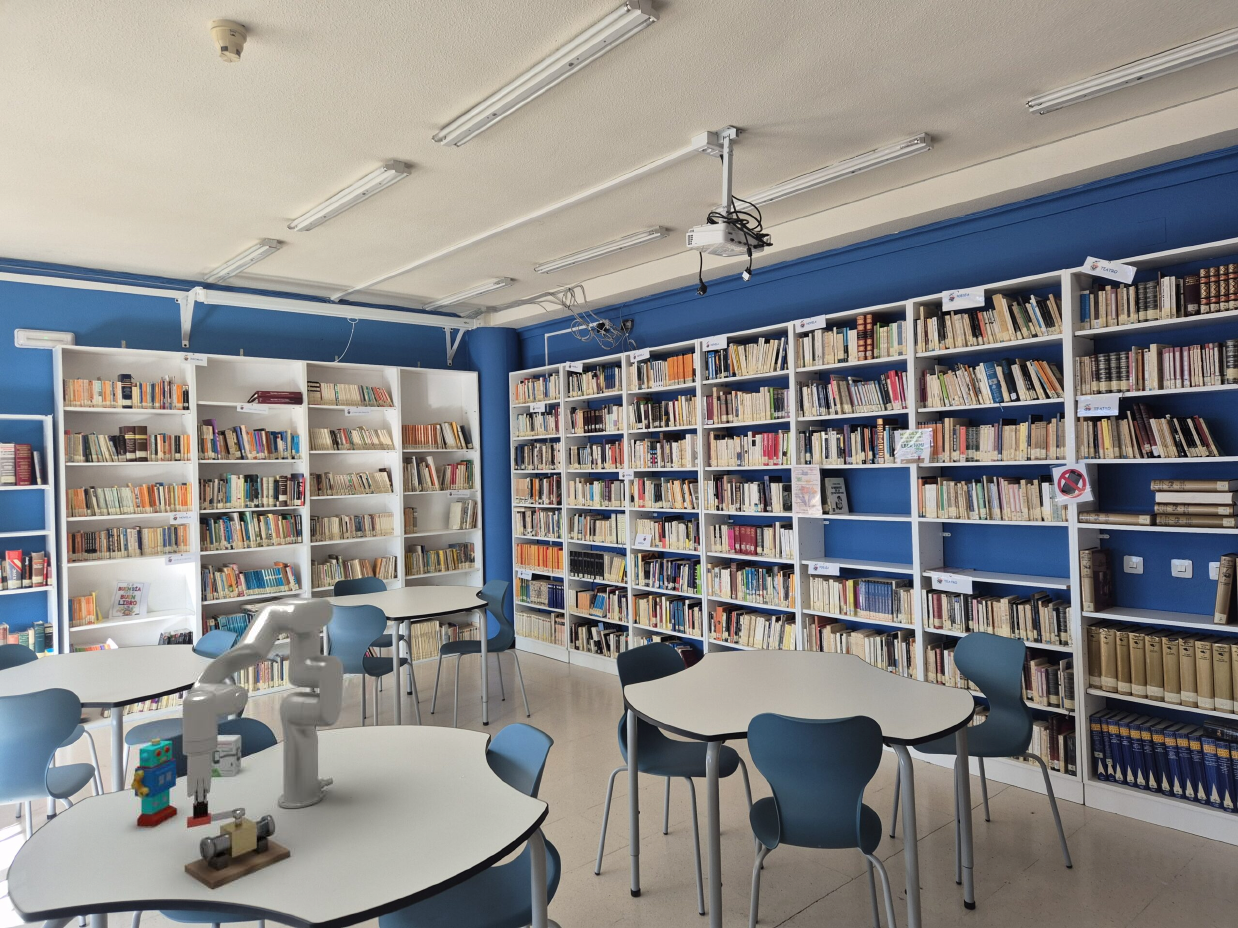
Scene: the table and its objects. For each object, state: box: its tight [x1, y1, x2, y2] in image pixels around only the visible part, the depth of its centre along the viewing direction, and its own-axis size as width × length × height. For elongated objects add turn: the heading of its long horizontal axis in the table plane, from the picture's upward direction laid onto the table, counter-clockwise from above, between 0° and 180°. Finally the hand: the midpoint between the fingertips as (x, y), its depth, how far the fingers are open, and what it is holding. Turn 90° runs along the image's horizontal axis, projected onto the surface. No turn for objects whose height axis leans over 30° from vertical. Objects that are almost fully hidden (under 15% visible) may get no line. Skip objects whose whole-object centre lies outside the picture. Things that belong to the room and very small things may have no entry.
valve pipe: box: [199, 814, 276, 871], centre depth 186 cm, size 16×6×10 cm, turn 143°
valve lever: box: [186, 807, 246, 829], centre depth 184 cm, size 12×3×2 cm, turn 118°
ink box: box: [211, 734, 242, 778], centre depth 245 cm, size 9×5×12 cm, turn 93°
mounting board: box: [184, 838, 291, 890], centre depth 186 cm, size 19×14×2 cm
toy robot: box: [130, 729, 178, 828], centre depth 212 cm, size 12×6×25 cm, turn 168°
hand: (200, 819), depth 185 cm, fingers closed
